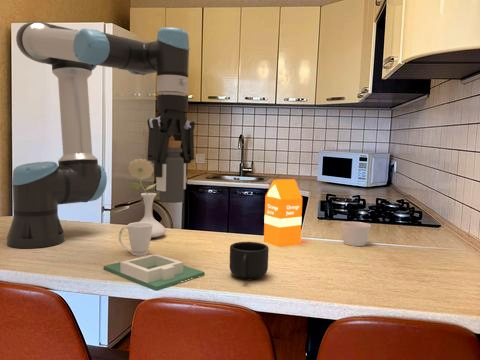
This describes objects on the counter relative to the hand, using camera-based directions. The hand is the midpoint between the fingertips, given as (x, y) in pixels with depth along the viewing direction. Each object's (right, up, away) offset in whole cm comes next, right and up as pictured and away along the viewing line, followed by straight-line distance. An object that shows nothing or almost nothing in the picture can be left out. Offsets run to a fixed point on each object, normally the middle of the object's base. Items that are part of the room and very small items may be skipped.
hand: (171, 189), depth 104 cm
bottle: (0, -3, 0) cm, 3 cm away
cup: (-12, -18, +11) cm, 24 cm away
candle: (+54, -18, +29) cm, 64 cm away
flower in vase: (-13, -16, +31) cm, 37 cm away
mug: (+19, -20, -7) cm, 29 cm away
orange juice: (+30, -17, +28) cm, 45 cm away
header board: (-3, -19, -5) cm, 20 cm away
